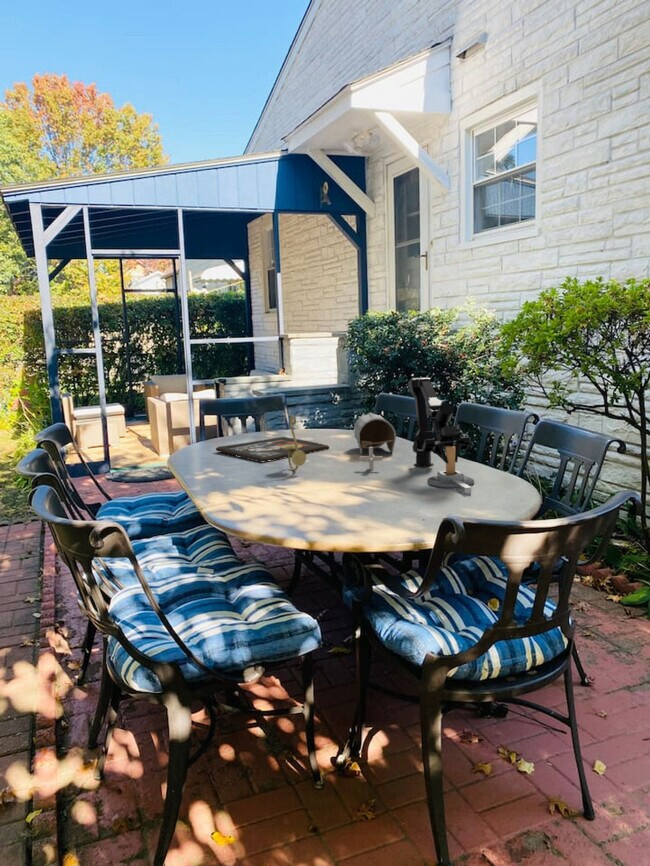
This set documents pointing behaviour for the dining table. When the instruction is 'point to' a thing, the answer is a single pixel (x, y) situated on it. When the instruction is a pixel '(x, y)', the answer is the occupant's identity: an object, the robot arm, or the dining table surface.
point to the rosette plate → (452, 481)
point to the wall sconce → (297, 456)
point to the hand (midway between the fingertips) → (451, 462)
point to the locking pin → (450, 460)
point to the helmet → (374, 432)
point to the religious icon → (269, 448)
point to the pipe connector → (371, 458)
